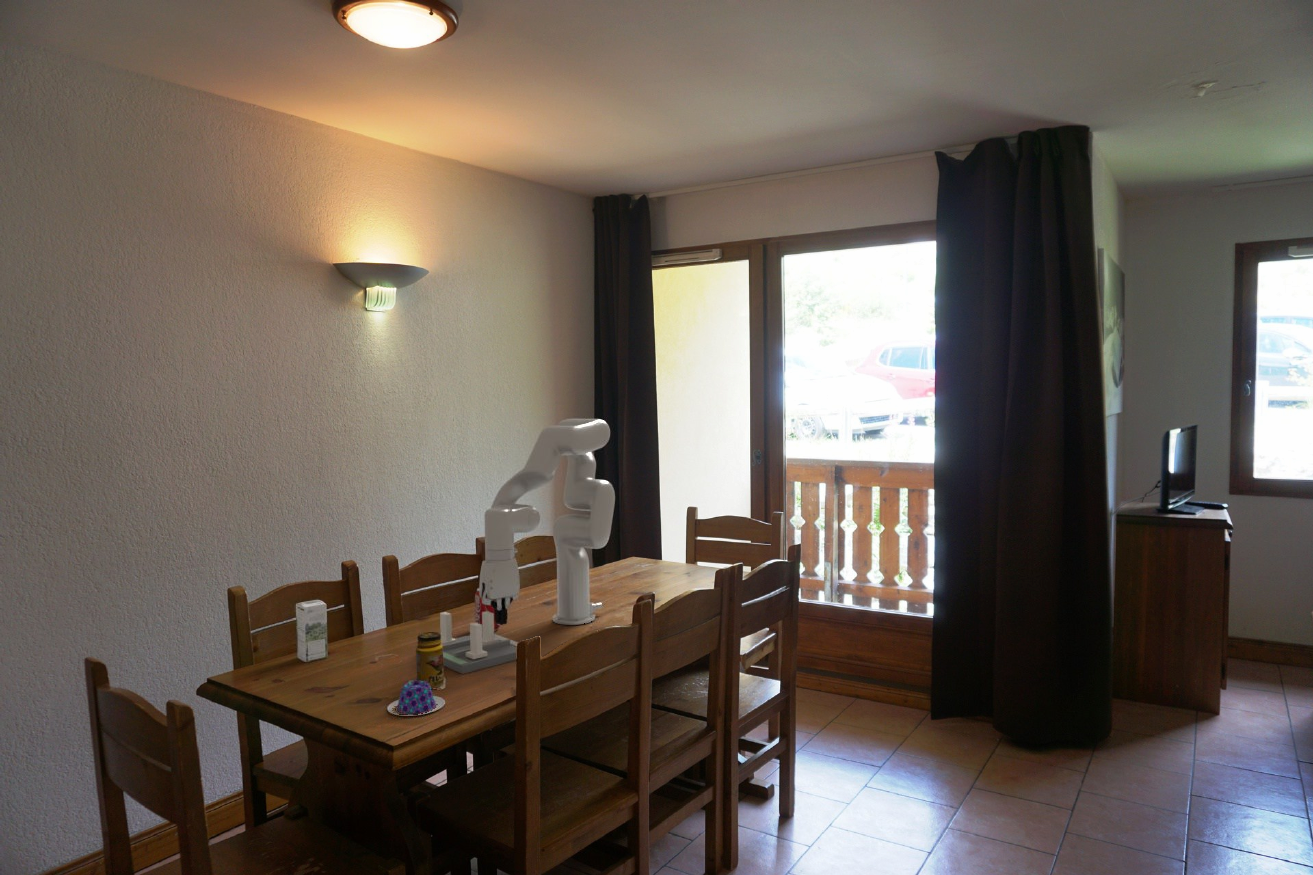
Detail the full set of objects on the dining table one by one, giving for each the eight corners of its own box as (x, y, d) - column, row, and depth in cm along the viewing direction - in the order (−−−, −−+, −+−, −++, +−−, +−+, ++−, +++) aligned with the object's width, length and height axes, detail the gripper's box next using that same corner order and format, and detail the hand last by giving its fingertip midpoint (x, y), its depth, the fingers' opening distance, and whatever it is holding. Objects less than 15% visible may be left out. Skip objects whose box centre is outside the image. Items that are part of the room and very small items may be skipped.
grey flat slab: (485, 638, 232) (485, 627, 232) (531, 655, 216) (531, 643, 215) (419, 654, 218) (418, 642, 218) (462, 673, 202) (462, 660, 202)
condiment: (445, 689, 192) (443, 637, 191) (406, 692, 190) (405, 640, 189) (445, 678, 199) (444, 628, 198) (408, 681, 197) (407, 631, 196)
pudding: (405, 696, 188) (404, 673, 188) (454, 700, 185) (454, 676, 185) (376, 716, 176) (375, 692, 176) (428, 720, 174) (427, 696, 173)
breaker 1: (449, 640, 222) (449, 610, 222) (456, 643, 220) (456, 613, 219) (436, 643, 219) (435, 613, 219) (442, 646, 217) (442, 616, 216)
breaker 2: (479, 652, 211) (479, 621, 211) (487, 655, 209) (486, 624, 208) (465, 656, 208) (464, 624, 208) (473, 659, 206) (472, 627, 205)
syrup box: (318, 653, 220) (317, 598, 220) (328, 658, 216) (326, 602, 215) (296, 658, 216) (295, 602, 216) (306, 663, 212) (304, 606, 211)
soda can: (494, 634, 236) (493, 591, 235) (471, 632, 237) (470, 591, 237) (504, 627, 243) (503, 586, 242) (481, 626, 244) (480, 585, 244)
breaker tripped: (491, 639, 222) (490, 610, 222) (498, 642, 220) (498, 612, 219) (478, 643, 219) (477, 612, 219) (485, 646, 217) (484, 615, 216)
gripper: (515, 549, 229) (516, 615, 230) (467, 556, 219) (468, 626, 220) (531, 552, 224) (532, 620, 224) (482, 560, 213) (484, 631, 214)
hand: (501, 623), depth 222 cm, fingers closed
